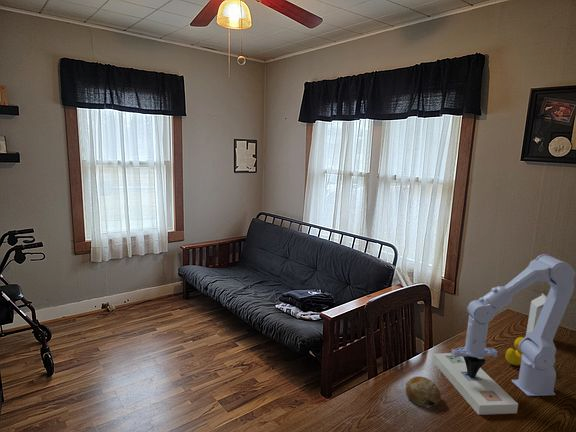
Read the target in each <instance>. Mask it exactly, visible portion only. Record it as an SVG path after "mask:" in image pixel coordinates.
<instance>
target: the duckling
mask: <svg viewBox="0 0 576 432" xmlns="http://www.w3.org/2000/svg"><path fill="white" fill-rule="evenodd" d="M524 338H525V336H524V337H522V336H518V337H517V338H516V339H515V340H514V343H513V346H514V348H515V349H514V348H513V347H512V348H511V347H509V348H508V349H507V350H506V351H505V356H504V357H505V360H506V361H507V363H509V364H510V365H513V366H521V360H522V357H521V356H522V353H521V352H520V350H519V343H520V342H521V340H523V339H524Z"/></svg>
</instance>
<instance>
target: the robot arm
mask: <svg viewBox="0 0 576 432" xmlns="http://www.w3.org/2000/svg"><path fill="white" fill-rule="evenodd" d="M575 275H576V271H575V269H574V268H573V267H572V266H571V264H570V263H568V262H566V261H562V260H560V259H558V258H555V257H553V256H551V254H548V253H547V254H546V253H544V254H543V253H542V254H539V255H538V256H537V257H536V258H535V259H532V260H530V261H529V264H528V266H527V267H526V268H525V269H524V270H522V271H521V272H520V273H519V274H518V275H516V276H515V277H514V278H513V279H511V280H510V281H509V282H508V283H507V284H505V285H503V286H501V285H500V286H499V285H498V286H496V287H495V286H494V287H492V288H491V289H490V291H489V292H488V293H486V294H485V295H483V296H482V297H479V298H478V299H474V300H471V301H470V302H469V303H468V306H466V307H465V309H466V312H467V313H468V322H467V327H466V328H467V330H466V335H465V337H466V338H465V345H464V346H461V347H458V348H452V349H451V352H450V353H451V355H452V356H453V357H454V358H457V357H463V358H464V360H465V363H466V367H467V374H468V376H469V377H470V378H475V376H476V374H477V372H478V370H479V369H480V368H482V367H483V365H484V364H486V359H485V357H493V358H497V357H498V350H496V349H495V348H491V347H490V348H489V347H486V345H487V337H488V329H489V323H490V322H492V321H493V319H494V317H495V315H496V314H497V312H499V311H500V310H501V309H503V308H504V307H505V306H507V305H509V304H510V303H511V302H512V301H513V298H514V297H513V296H514V295H515V294H517V293H519V292H520V291H522V290H524V289H526V288H528V287H529V286H531V285H532V284H534V283H536V282H542V283H547V284H548V285H549V286H550V289H549V291H548V294H547V296H546V297H547V298H546V301H545V303H544V306H543V308H542V310H541V313H540V315H539V318H538V320H537V323H536V325H535V328H534V330H533V331H532V332H529V333H527V334H526V333H525V336H524V339H523V340H521V342H520V343H519V350H520V352H521V353H522V356H521V357H522V360H521V365H519V366H520V368H519V373H518V379H511V382H512V383H513V384H514V385H515V386H516V387H518V389H520V390H521V391H522V392H523V393H524V394H525V395H526V396H527V397H539V396H540V397H541V396H555V395H556V393H555V392H554V390H555V384H556V378H557V372H556V369H555V367H554V365H555V363H556V357H555V356H556V353H557V348H556V345H555V343H554V338H555V336H556V333H557V331H558V329H559V326H560V324H561V321H562V319H563V317H564V314H565V312H566V310H567V307H568V305H569V302H570V300H571V297H572V295H573V292H574V290H575V282H574V279H575Z"/></svg>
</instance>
